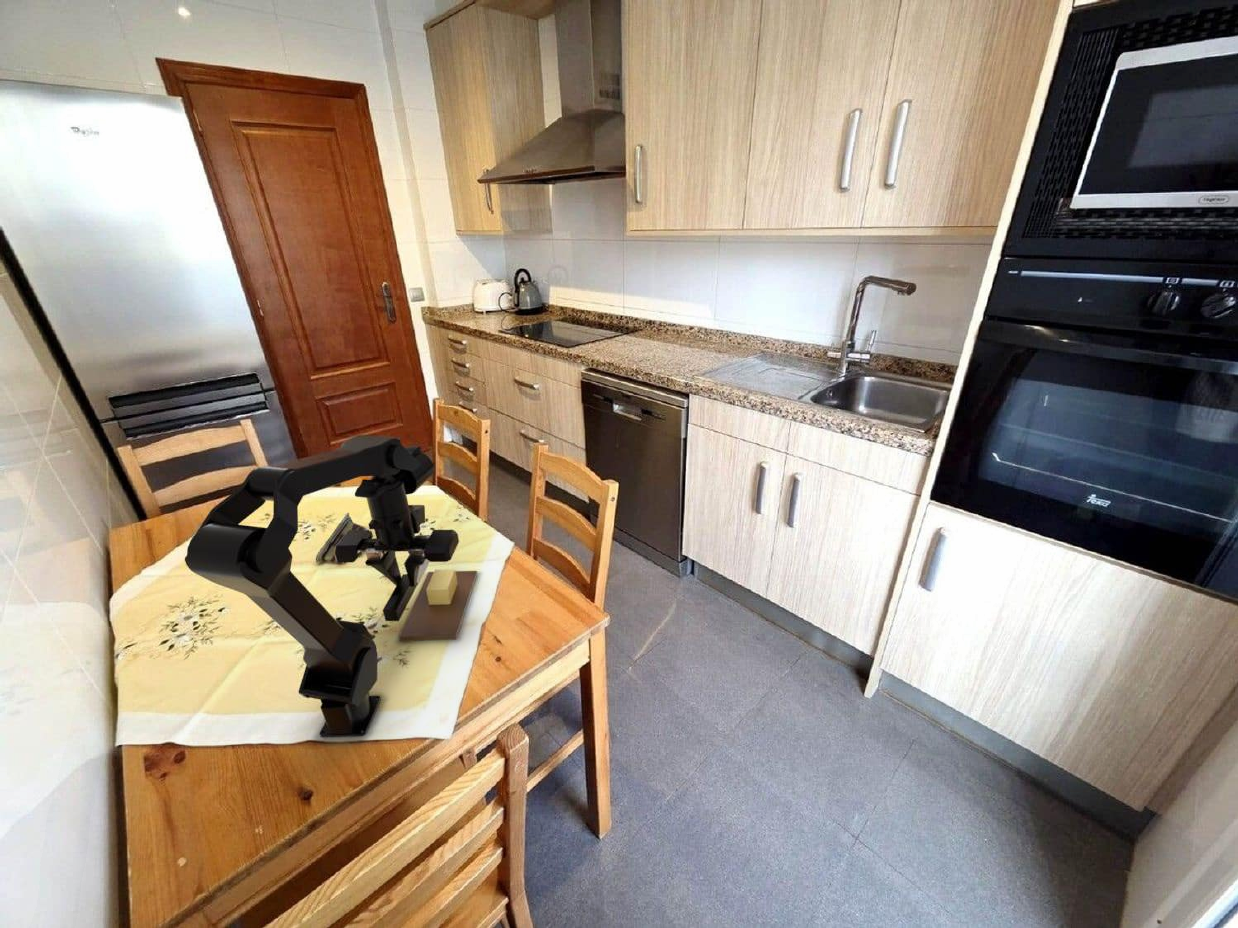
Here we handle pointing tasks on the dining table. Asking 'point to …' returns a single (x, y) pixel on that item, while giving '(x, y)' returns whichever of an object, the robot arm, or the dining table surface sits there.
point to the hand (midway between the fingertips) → (407, 585)
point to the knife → (402, 595)
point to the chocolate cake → (337, 539)
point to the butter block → (443, 595)
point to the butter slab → (441, 581)
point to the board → (439, 612)
